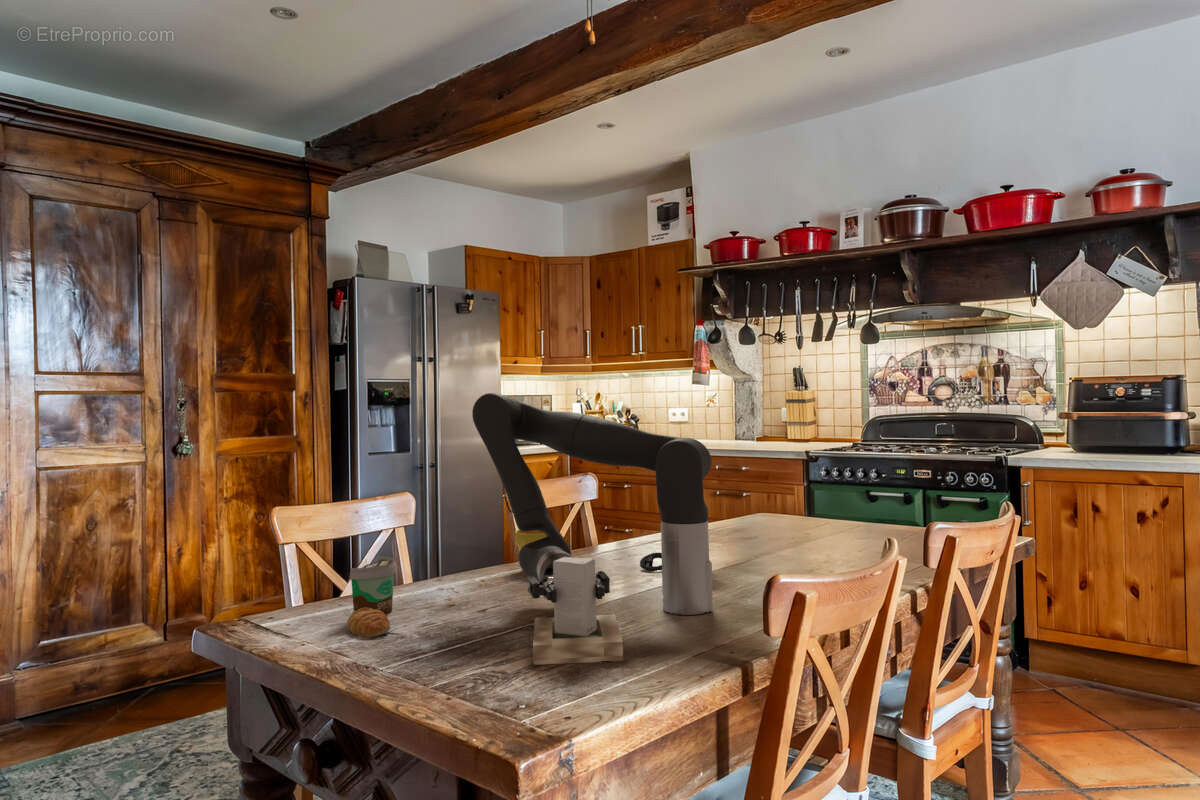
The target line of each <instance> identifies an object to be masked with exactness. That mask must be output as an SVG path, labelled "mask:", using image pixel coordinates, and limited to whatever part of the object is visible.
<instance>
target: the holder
mask: <svg viewBox="0 0 1200 800" xmlns="http://www.w3.org/2000/svg"><path fill="white" fill-rule="evenodd" d="M534 618H535V619H534V629H533V639H532V640H533V641H532V642H533V643H532V659H533V660H532V662H533V663H532V664H533V665H535V666H537V665H556V664H557V665H558V664H559V665H560V664H562V665H564V664H581V663H586V664H587V663H602V662H601V661H612V662H624V645H623V644H624V643H623V642H624V641H623V637H622V635H621V631H620V629H619V626H618V621H617V617H616V615H615V614H603V615H602V614H600V615H599V614H598V615H597V614H596V624H597V629H596V630H595V631H594V632H592V633H591V634H589V635H588V636H577V635H569V634H560V633H555V626H554V616H547V617H544V616H543V617H534Z"/></svg>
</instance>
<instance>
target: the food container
mask: <svg viewBox="0 0 1200 800" xmlns="http://www.w3.org/2000/svg"><path fill="white" fill-rule="evenodd" d="M395 573H398V566H397V563H396V561H395V559H394V558H391V557H387V556H379V557H378V561H377V562H374V563H369V564H365V565H363V566H362V567H354V568H353V567H351V568H350V572H349V581H351V592H352V603H353V604H352V607H353V612H354V611H357V610H358V609H360V608H365V607H367V608H372V609H373V610H380V611H381V612H383V613H384V614H385V615H386V616H388V615H389V613H390V614H391V613H392V612H393V599H394V597H393V596H394V581H395V578H394V577H395ZM387 614H388V615H387Z"/></svg>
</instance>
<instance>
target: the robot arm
mask: <svg viewBox="0 0 1200 800" xmlns="http://www.w3.org/2000/svg"><path fill="white" fill-rule="evenodd" d="M472 422H473V423H474V427H475V428H476V431H477V432H478V434H479V436H480V438H481V440H482V442H483V444H484V446H485V447H486V450H487V452H488V454H489V455H490V459H491V460H492V462H493V464H494V467H495V469H496V471H497V473H498V476H499V478H500V480H501V483H502V485H503V488H504V492H505V494H506V497H507V500H508V503H509V506H510V510H511V513H512V516H513V518H514V522H515V525H516V527H517V528H518V529H517V530H520V531H524V532H525V531H535V530H539V531H542V532H544V533H545V534H546V536H547V537H545V538H542V539H539V540H537V541H534V542H531V543H528V544H526V545H524V546H523V547H522V548H521V550H520V552H519V551H518V563H519V566H520V569H521V570H522V571H523V573H524V574H525V575H526V576H527V577H526V579H527V592H528V594H529V595H530V596H531V597H532V599H535V600H536V599H539V598H540V597H541V596H542V597H543V598H544V599H545V600H546V601H550V602H551V604H554V603H556V602H557V597H556V589H555V587H554V580H553V561H555V560H558V559H560V558H563V557H573V556H572V552H571V551H572V550H571V548H570V545H569V543H568V541H566V539H565V538H564V536H563V535H562V533H561V532H560V530H559V529H558V528H557V526H556V525H555V523H554V521H553V519H552V517H551V516H550V513H549V511H548V507H547V505H546V502H545V499H544V496H543V492H542V490H541V487H540V485H539V483H538V481H537V480H536V477H535V476H534V474H533V472H532V470H531V469H530V468H529V466H528V464H527V462H526V461H525V460H524V458H523V456H522V454H521V452H520V450H519V448H518V445H517V443H516V442H517V441H516V440H519V441H526V442H532V443H536V444H537V443H538V444H541V445H544V446H546V447H547V448H550V449H552V450H554V451H556V452H558V453H561V454H563V455H566V456H569V457H572V458H575V459H579V460H583V461H587V462H590V463H595V464H601V465H611V466H622V467H625V466H626V467H637V468H641V469H645V470H646V469H647V470H649V471H654V472H655V485H656V501H657V507H658V509H659V512H660V536H661V537H660V538H661V539H660V541H661V542H660V543H661V545H660V546H661V548H660V549H661V553H662V559H661V565H662V570H661V581H662V583H661V587H662V598H661V599H662V610H663V611H664V612H666V613H668V612H669V614H672V613H673V614H672V615H679V614H681V616H689V615H690V616H692V615H694V616H695V615H701V614H706V613H712V611H713V612H714V608H713V607H714V605H713V604H714V603H713V600H714V598H713V596H714V595H713V566H712V565H713V563H712V561H711V560H710V543H709V542H710V539H709V537H710V536H709V535H710V534H709V508H708V506H707V505H706V502H705V497H704V482H703V481H704V480H703V479H704V478H705V477H706V476H707V475H708V474H709V472H710V470H711V468H712V463H713V462H712V456H711V454H710V451H709V449H708V448H707V447H706V445H705V444H704V443H702V442H701V441H699V440H697V439H695V438H690V437H679V436H671V435H664V434H657V433H652V432H647V431H645V430H644V431H643V430H641V429H637V428H635V427H632V426H629V425H625V424H623V423H620V422H616V421H612V420H609V419H606V418H603V417H598V416H593V415H590V414H585V413H579V412H572V411H571V412H570V411H559V410H558V411H557V410H556V411H554V410H549V409H547V410H546V409H544V408H540V407H536V406H534V405H531V404H528V403H526V402H523V401H520V400H519V399H517V398H514V397H511V396H508V395H504V394H501V393H496V392H488V393H485V394H482V395H480V396H479V397H478V398H477V400H476V401H475V402H474V404H473V408H472ZM610 580H611V579H610V576H609V575H608V574H607V573H606V572H605V571H603V570H599V571H597V572H595V585H596V600H602V599H603V597H605V596H606V594H609V593H611V587H610ZM710 611H711V612H710ZM705 612H706V613H705Z"/></svg>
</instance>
